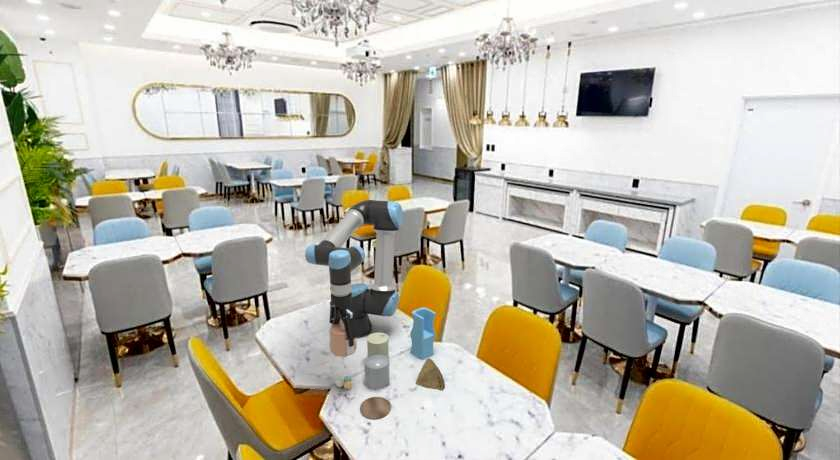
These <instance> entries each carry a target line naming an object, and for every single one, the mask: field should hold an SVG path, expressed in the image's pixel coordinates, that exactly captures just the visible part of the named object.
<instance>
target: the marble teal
mask: <svg viewBox="0 0 840 460" xmlns="http://www.w3.org/2000/svg"><path fill="white" fill-rule="evenodd" d="M346 381H350V382H351V383H352V376H350V375H349V374H348V375H345V376H344V377H343V382H344V383H345V382H346Z"/></svg>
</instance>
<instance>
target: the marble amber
mask: <svg viewBox="0 0 840 460" xmlns="http://www.w3.org/2000/svg"><path fill="white" fill-rule="evenodd" d="M351 388H352V381H351V382H350V381H346V382H344V384H343V389H345V390H350V389H351Z"/></svg>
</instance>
